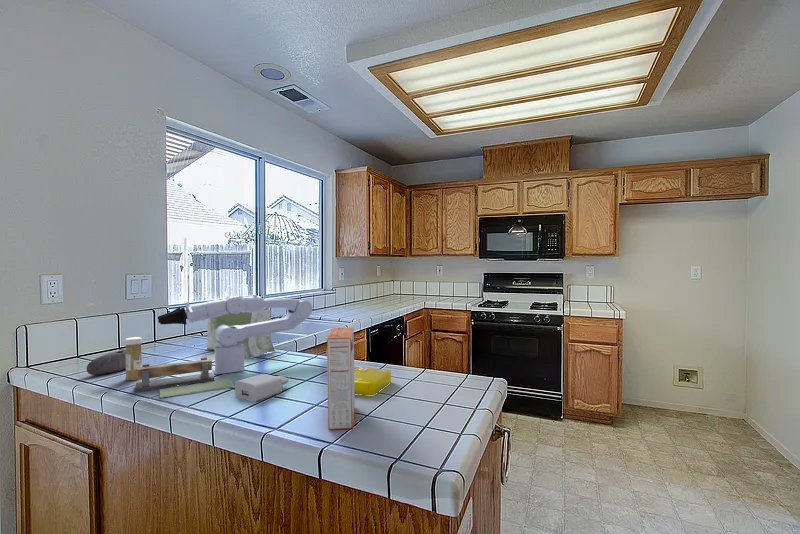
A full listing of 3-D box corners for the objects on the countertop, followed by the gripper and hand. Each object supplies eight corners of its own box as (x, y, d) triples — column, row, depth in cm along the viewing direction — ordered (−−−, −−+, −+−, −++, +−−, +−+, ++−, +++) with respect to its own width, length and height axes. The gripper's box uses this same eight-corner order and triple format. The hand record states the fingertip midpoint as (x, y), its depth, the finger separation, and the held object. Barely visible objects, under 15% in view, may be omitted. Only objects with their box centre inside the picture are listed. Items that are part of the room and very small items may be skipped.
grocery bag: (277, 352, 165) (277, 298, 165) (249, 358, 154) (249, 300, 154) (233, 343, 183) (233, 295, 183) (205, 349, 171) (204, 297, 171)
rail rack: (211, 375, 130) (211, 356, 130) (214, 380, 124) (214, 360, 124) (136, 385, 118) (136, 364, 118) (135, 392, 112) (135, 370, 112)
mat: (229, 380, 124) (229, 379, 124) (233, 387, 117) (233, 385, 117) (159, 390, 113) (159, 389, 113) (159, 398, 107) (159, 397, 107)
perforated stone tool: (90, 379, 126) (90, 358, 126) (81, 377, 128) (81, 356, 128) (138, 368, 139) (138, 349, 139) (129, 366, 142) (129, 347, 142)
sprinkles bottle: (142, 379, 125) (141, 338, 125) (124, 381, 123) (124, 339, 123) (142, 376, 129) (142, 336, 129) (125, 378, 126) (125, 337, 126)
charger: (298, 388, 116) (255, 403, 104) (277, 383, 121) (234, 396, 109) (297, 372, 116) (255, 385, 104) (277, 368, 121) (234, 380, 109)
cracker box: (331, 407, 100) (331, 327, 100) (355, 407, 100) (354, 326, 100) (325, 430, 86) (325, 337, 86) (353, 429, 86) (352, 336, 86)
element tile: (326, 392, 113) (326, 376, 113) (350, 378, 127) (350, 364, 127) (373, 399, 107) (373, 381, 107) (393, 383, 121) (393, 368, 121)
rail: (210, 367, 128) (210, 358, 128) (211, 370, 125) (211, 360, 125) (137, 377, 117) (137, 367, 117) (137, 379, 114) (137, 369, 114)
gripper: (199, 299, 137) (155, 307, 129) (206, 299, 125) (158, 308, 117) (203, 318, 137) (159, 328, 129) (210, 320, 125) (162, 331, 118)
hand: (158, 320), depth 123 cm, fingers open, 7 cm apart
